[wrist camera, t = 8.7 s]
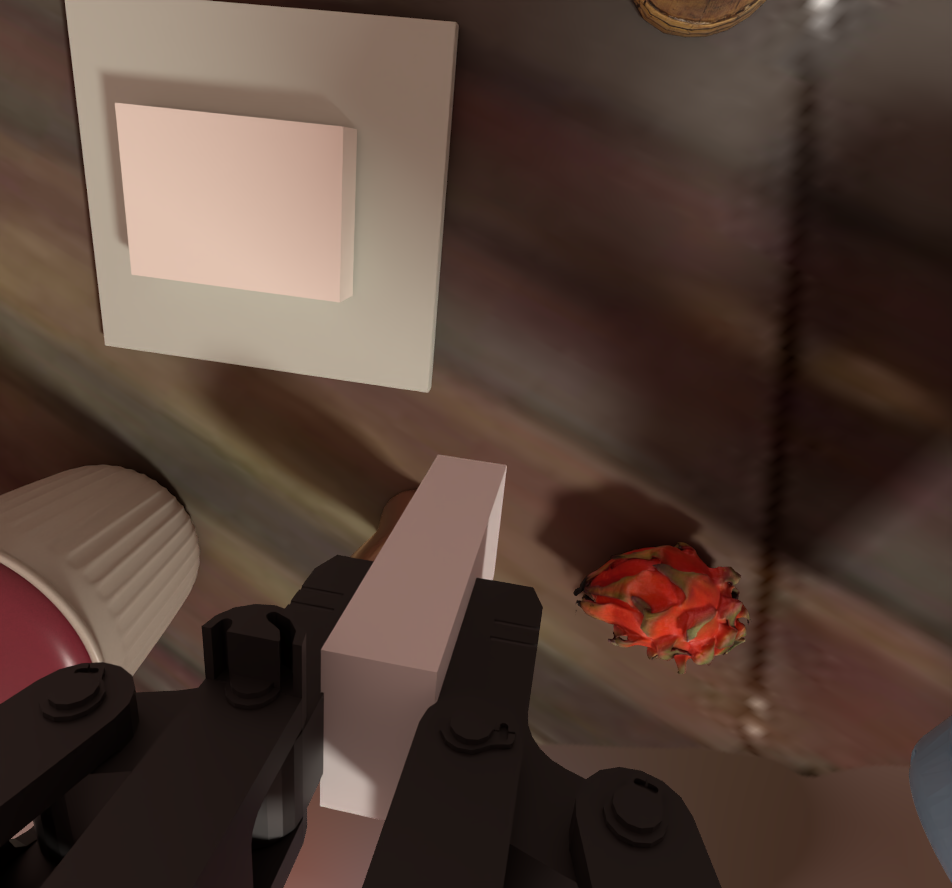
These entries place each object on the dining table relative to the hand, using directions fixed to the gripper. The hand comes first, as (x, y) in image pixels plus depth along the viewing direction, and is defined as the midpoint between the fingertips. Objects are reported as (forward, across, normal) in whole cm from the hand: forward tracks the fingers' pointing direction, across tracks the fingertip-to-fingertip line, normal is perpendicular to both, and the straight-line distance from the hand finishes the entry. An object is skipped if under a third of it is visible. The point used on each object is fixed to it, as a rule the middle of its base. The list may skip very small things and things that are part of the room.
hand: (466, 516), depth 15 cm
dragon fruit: (+32, -10, +20) cm, 39 cm away
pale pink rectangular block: (+29, +13, -4) cm, 32 cm away
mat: (+31, +20, -4) cm, 37 cm away
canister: (+31, +32, +23) cm, 51 cm away
